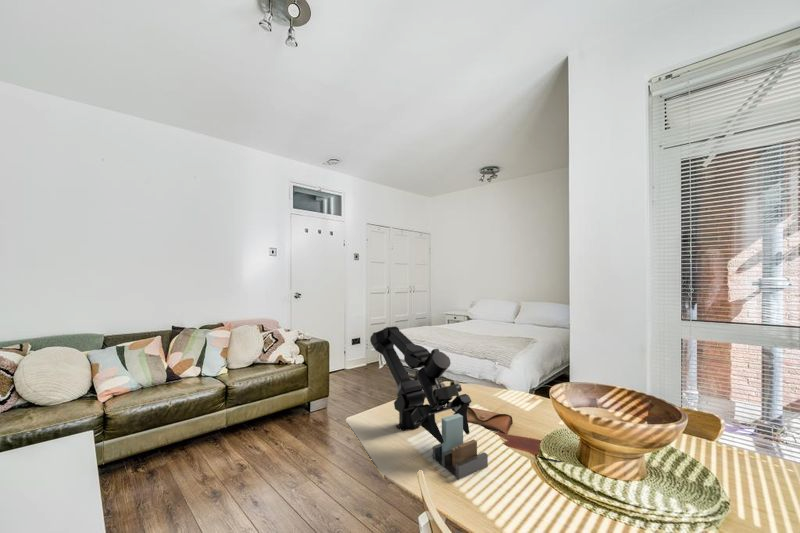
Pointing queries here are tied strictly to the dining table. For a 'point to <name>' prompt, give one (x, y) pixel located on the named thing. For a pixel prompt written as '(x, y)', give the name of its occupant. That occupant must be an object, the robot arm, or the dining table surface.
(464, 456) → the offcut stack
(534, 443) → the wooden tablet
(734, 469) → the dining table surface
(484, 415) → the sunglasses case
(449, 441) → the tall sheet
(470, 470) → the rack
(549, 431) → the dining table surface
